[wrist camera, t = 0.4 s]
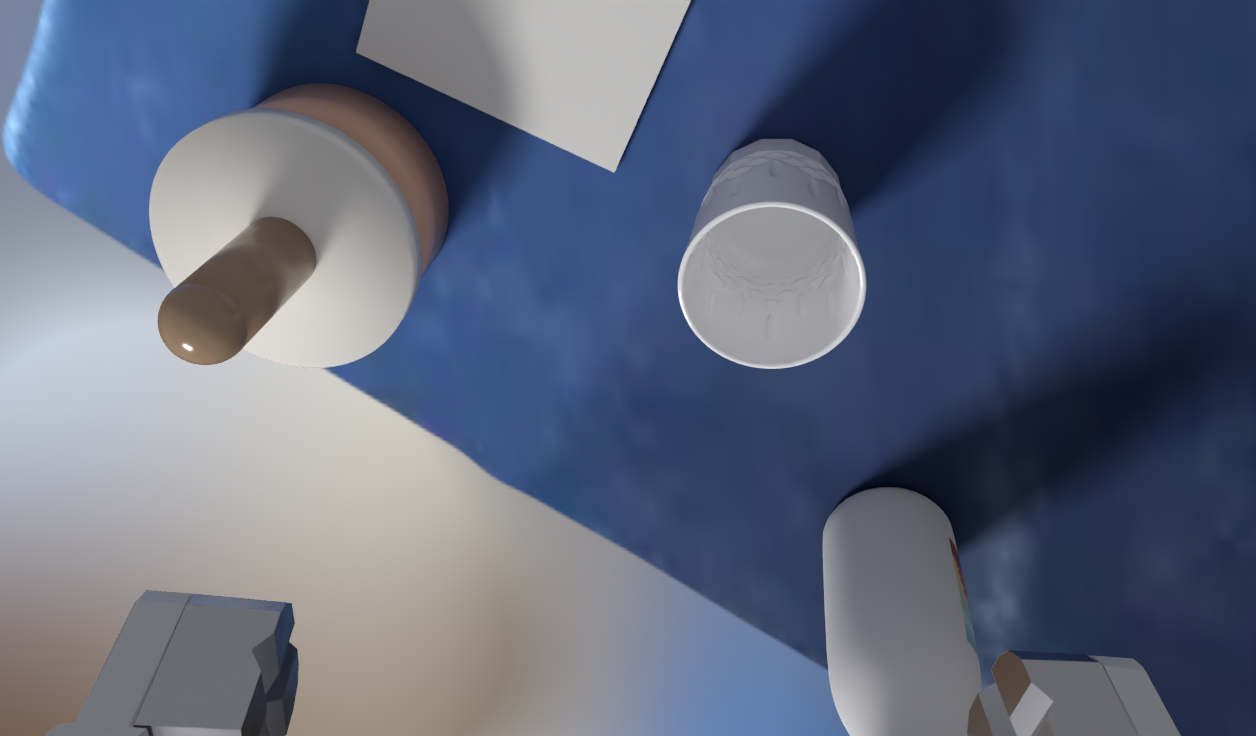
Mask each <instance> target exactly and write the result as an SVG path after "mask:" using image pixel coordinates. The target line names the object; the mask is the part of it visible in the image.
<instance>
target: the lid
mask: <svg viewBox="0 0 1256 736" xmlns="http://www.w3.org/2000/svg"><path fill="white" fill-rule="evenodd" d="M149 216H150V228H151V233H152V238H153V243H154V246H155V249H156V252H157V255H158V258H159V260H160V262H161V264H162V267H163V269H164V271H165V273H166V275H167V277H168V278H169V280H170V282H171V283H172V285H173V287H174V289H173V290H172V291H171V292H170V293H169V294H168V295H167V296H166V298H165V299H164V301H163V302H162V304H161V307H160V309H159V313H158V328H159V332H160V336H161V337H162V339H163V342H164V343H165V345H166V346H167V347H168V349H169V350H170V351H171V352H173V354H175V355H176V356H178V357H179V358H181V359H183V360H185V361H187V362H190V363H194V364H200V365H212V364H218V363H221V362H224V361H226V360H228V359H230V358H232V357H233V356H235V355H236V354H237V353H238V352H239V351H240V350H241V349H243V350H245V351H247V352H250V353H251V354H254V355H256V356H258V357H261V358H264V359H266V360H269V361H272V362H276V363H280V364H284V365H289V366H295V367H302V368H324V367H334V366H338V365H343V364H347V363H350V362H353V361H355V360H358V359H361V358H362V357H364V356H366V355H368V354H370V353H371V352H373V351H374V350H376V349H377V348H378V347H379V346H381V345H382V344H383V343H384V342H385V341H386V340H387V339H388V338H389V337H390V336H391V335H392V334H393V332H394V331H395V330H396V328H397V327H398V325H399V324H400V323H401V321H402V320H403V318H404V317H405V315H406V314H407V312H408V311H409V309H410V308H411V306H412V304H413V301H414V299H415V297H416V294H417V291H418V287H419V284H420V280H421V270H422V248H421V243H420V237H419V232H418V229H417V225H416V222H415V219H414V216H413V214H412V211H411V209H410V207H409V205H408V202H407V200H406V198H405V197H404V195H403V193H402V192H401V190H400V188H399V187H398V185H397V183H396V182H395V181H394V179H393V178H392V177H391V175H390V174H389V173H388V172H387V170H386V169H385V168H384V167H383V166H382V165H381V164H380V162H379V161H378V160H377V159H376V158H375V157H374V156H373V155H372V154H371V153H370V152H368V151H367V150H366V149H365V148H364V147H363V146H361V145H360V144H359V143H358V142H357V141H355V140H354V139H352V138H351V137H349V136H348V135H346V134H345V133H343V132H342V131H340V130H338V129H337V128H335V127H333V126H331V125H329V124H327V123H325V122H323V121H321V120H318V119H315V118H313V117H310V116H308V115H305V114H301V113H297V112H293V111H289V110H283V109H275V108H250V109H243V110H237V111H233V112H230V113H227V114H224V115H221V116H219V117H217V118H215V119H213V120H211V121H209V122H207V123H205V124H204V125H202V126H201V127H199V128H197V129H196V130H194V131H192V132H191V133H189V134H188V135H186V136H185V137H184V138H183V139H181V140H180V141H179V142H177V143H176V145H175V146H174V147H173V148H172V149H171V150H170V151H169V152H168V153H167V155H166V156H165V158H164V160H163V161H162V163H161V164H160V166H159V168H158V171H157V173H156V175H155V178H154V181H153V185H152V189H151V194H150V205H149Z"/></svg>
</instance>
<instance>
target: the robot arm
mask: <svg viewBox="0 0 1256 736" xmlns="http://www.w3.org/2000/svg"><path fill="white" fill-rule="evenodd" d="M294 623H295V622H294V616H293V609H292V603H286V602H275V601H265V600H254V599H244V598H233V597H222V596H212V595H201V594H189V593H176V592H162V591H151V590H146V591H145V592H144V593H143V595H142V596H141V597H140V598H139V599H138V600H137V601H136V602H135V603H134V605H133V607H132V609H131V611H130V613H129V615H128V617H127V619H126V621H125V623H124V625H123V627H122V629H121V631H120V633H119V635H118V637H117V639H116V641H115V643H114V645H113V647H112V649H111V651H110V653H109V656H108V657H107V660H106V662H105V664H104V666H103V668H102V669H101V672H100V674H99V676H98V678H97V680H96V682H95V684H94V686H93V688H92V690H91V692H90V694H89V696H88V698H87V700H86V702H85V704H84V706H83V708H82V710H81V712H80V714H79V716H78V718H77V720H76V722H75V724H74V723H59V724H58V725H57V726H55V727H54V728H53V729H51V730H50V731H48V732H47V733H46V734H45V735H43V736H285V735H286V734H287V730H288V727H289V723H290V720H291V716H292V713H293V708H294V702H295V696H296V691H297V685H298V666H299V663H298V651H297V649H296V648H295V647H294V646H293V645H292V644H291V643H290V642H289V640H290V637H291V633H292V630H293V627H294ZM991 670H992V673H993V676H994V678H995V681H996V683H994V684H992V685H991V686H989V687H987V688H985V689H984V690H982V691H980V692H979V693H978V694H977V696H976V698H975V700H974V702H973V704H972V706H971V708H970V710H969V718H968V729H967V736H1180V734H1179V732H1178V730H1177V728H1176V726H1175V725H1174V723H1173V721H1172V719H1171V717H1170V715H1169V714H1168V712H1167V710H1166V708H1165V706H1164V704H1163V703H1162V701H1161V699H1160V697H1159V695H1158V693H1157V692H1156V690H1155V688H1154V686H1153V684H1152V682H1151V681H1150V679H1149V677H1148V675H1147V673H1146V671H1145V670H1144V668H1143V667H1142V666H1141V665H1140V664H1139V663H1138V662H1137V661H1135V660H1134V659H1130V658H1117V657H1101V656H1087V655H1085V654H1068V653H1049V652H1031V651H1012V650H1008V651H1007V652H1005V653H1003V654H1001V655H1000V656H999V657H998V659H997V660H996V662H995V664H994V665H993V667H992V669H991Z"/></svg>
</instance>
